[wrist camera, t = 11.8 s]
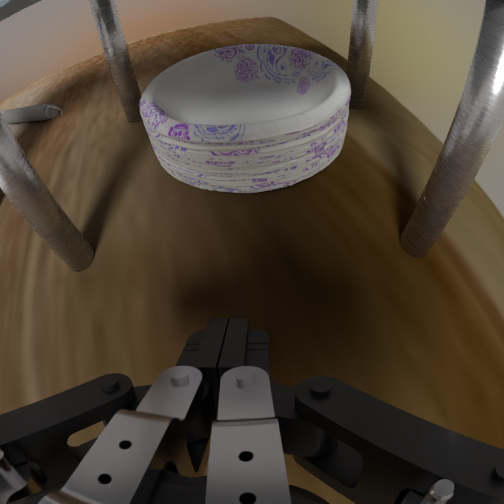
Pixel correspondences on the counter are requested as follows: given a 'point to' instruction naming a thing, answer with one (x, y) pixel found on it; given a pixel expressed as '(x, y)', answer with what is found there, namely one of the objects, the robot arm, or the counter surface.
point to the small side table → (359, 60)
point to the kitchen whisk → (31, 113)
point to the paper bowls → (247, 117)
